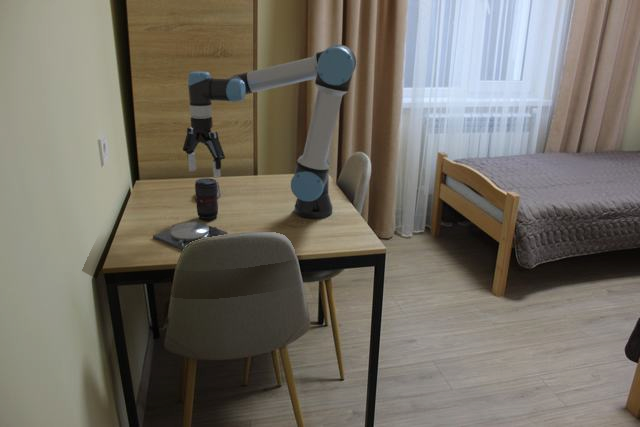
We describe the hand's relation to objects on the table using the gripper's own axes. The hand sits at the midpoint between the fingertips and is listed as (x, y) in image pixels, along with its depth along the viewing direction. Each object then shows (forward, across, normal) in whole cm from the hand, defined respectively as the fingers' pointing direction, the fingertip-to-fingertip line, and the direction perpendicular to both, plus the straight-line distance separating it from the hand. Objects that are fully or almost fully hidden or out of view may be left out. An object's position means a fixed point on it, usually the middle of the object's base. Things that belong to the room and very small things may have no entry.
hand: (204, 173), depth 190 cm
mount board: (+18, -9, +16) cm, 25 cm away
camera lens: (+18, 0, 0) cm, 18 cm away
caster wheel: (+18, +19, -18) cm, 32 cm away
